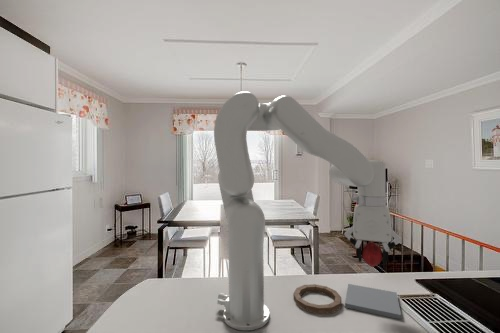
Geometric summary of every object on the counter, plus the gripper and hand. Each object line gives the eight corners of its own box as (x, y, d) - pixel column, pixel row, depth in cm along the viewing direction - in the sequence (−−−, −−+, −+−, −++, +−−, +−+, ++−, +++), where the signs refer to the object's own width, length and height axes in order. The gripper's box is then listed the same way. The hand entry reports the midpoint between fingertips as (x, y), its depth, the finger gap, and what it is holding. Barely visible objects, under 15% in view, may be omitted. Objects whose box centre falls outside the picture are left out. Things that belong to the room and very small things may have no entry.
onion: (385, 271, 73) (385, 243, 73) (364, 270, 74) (363, 242, 74) (379, 263, 78) (379, 237, 78) (359, 262, 80) (359, 237, 80)
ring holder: (288, 306, 74) (288, 301, 74) (300, 286, 86) (300, 281, 86) (338, 318, 68) (338, 312, 68) (342, 294, 80) (342, 289, 80)
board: (345, 307, 73) (345, 303, 73) (348, 287, 85) (348, 283, 85) (401, 319, 67) (401, 315, 67) (396, 296, 79) (396, 292, 79)
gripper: (339, 201, 76) (340, 262, 76) (406, 205, 69) (407, 271, 69) (342, 198, 83) (342, 253, 83) (403, 201, 76) (403, 261, 76)
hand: (371, 261), depth 76 cm, fingers closed on onion, 5 cm apart
